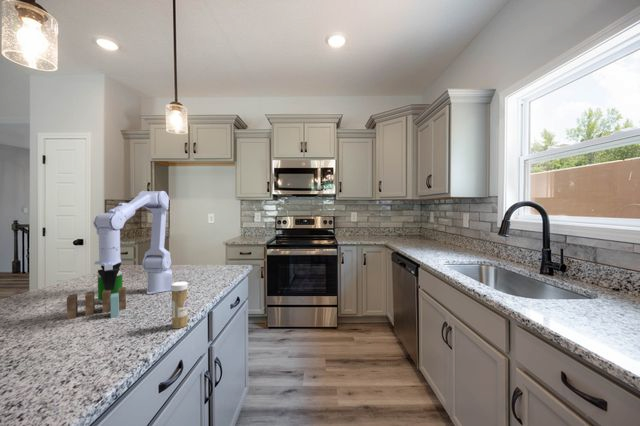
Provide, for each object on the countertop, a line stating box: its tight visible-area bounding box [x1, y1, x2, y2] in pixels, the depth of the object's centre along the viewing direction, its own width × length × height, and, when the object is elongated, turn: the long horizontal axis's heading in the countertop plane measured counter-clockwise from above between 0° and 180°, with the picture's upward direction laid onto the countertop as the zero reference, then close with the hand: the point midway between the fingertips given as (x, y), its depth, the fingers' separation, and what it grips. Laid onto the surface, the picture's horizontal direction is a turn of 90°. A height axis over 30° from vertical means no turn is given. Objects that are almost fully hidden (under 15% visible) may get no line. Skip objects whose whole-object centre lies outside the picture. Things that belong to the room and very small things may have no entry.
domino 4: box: [118, 286, 127, 311], centre depth 96 cm, size 2×4×7 cm, turn 36°
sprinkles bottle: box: [171, 281, 189, 329], centre depth 81 cm, size 5×5×14 cm
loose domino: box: [110, 293, 120, 319], centre depth 89 cm, size 2×4×7 cm, turn 36°
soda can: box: [97, 269, 123, 305], centre depth 102 cm, size 8×8×12 cm
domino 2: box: [84, 291, 96, 317], centre depth 91 cm, size 2×4×7 cm, turn 36°
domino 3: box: [101, 290, 111, 314], centre depth 93 cm, size 2×4×7 cm, turn 36°
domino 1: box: [66, 293, 79, 321], centre depth 88 cm, size 2×4×7 cm, turn 36°
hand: (110, 287), depth 90 cm, fingers open, 7 cm apart
